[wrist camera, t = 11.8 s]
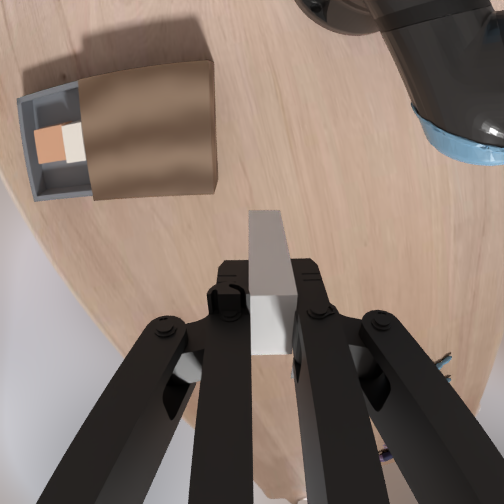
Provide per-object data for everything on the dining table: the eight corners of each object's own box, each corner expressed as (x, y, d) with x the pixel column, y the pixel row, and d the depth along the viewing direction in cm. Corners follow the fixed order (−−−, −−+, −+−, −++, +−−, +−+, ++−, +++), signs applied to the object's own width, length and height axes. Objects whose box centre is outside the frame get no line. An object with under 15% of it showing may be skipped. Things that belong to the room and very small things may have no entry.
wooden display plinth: (98, 77, 35) (77, 79, 30) (213, 62, 36) (208, 59, 30) (110, 185, 44) (93, 200, 38) (218, 179, 44) (213, 194, 38)
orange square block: (61, 124, 35) (71, 120, 37) (33, 130, 35) (44, 126, 37) (66, 159, 37) (75, 154, 40) (38, 164, 37) (49, 158, 40)
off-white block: (97, 116, 37) (79, 119, 37) (80, 122, 33) (61, 126, 33) (101, 150, 40) (83, 153, 40) (85, 160, 36) (67, 163, 36)
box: (32, 95, 35) (16, 98, 32) (96, 78, 35) (83, 79, 32) (47, 192, 44) (34, 201, 40) (109, 185, 44) (98, 195, 40)
